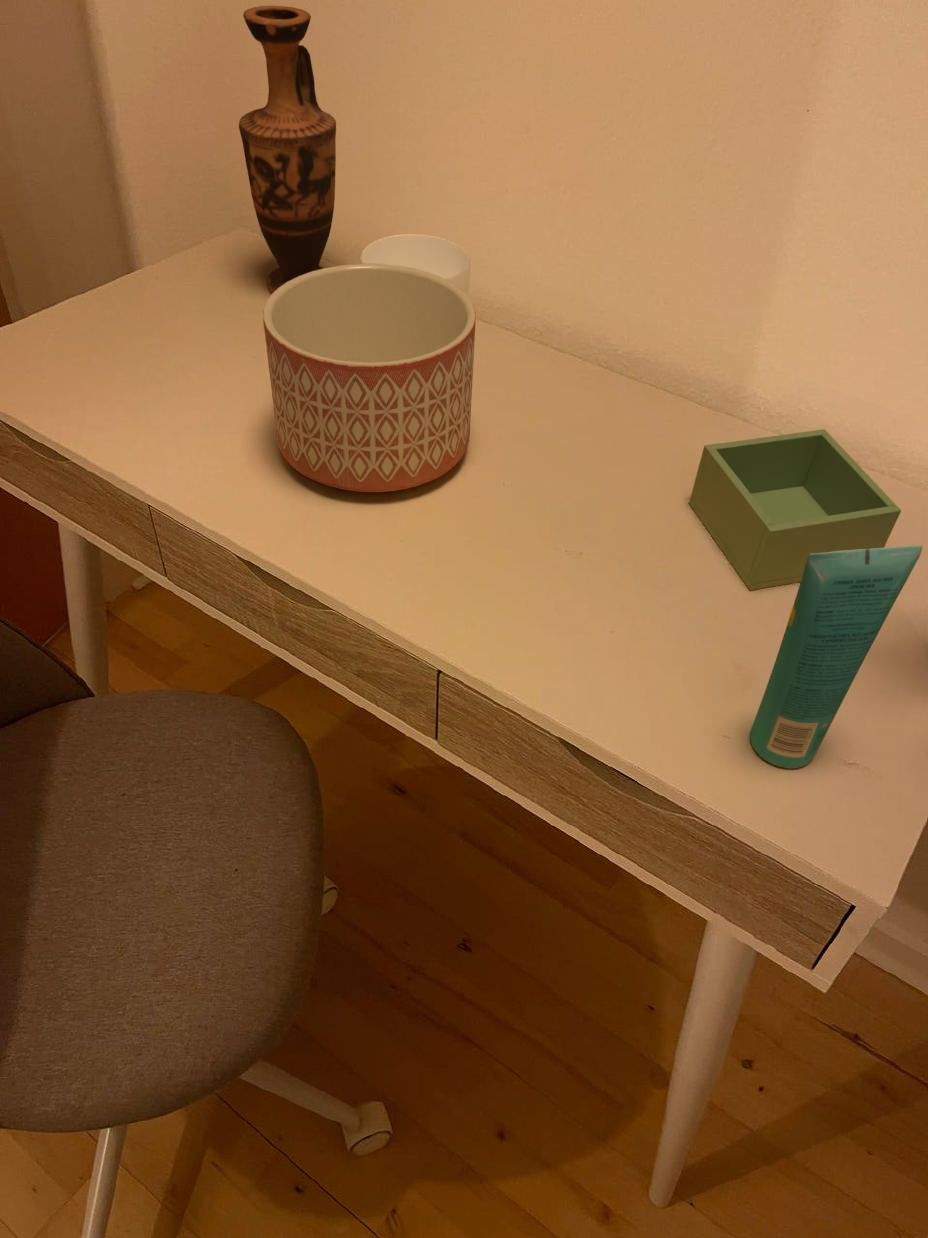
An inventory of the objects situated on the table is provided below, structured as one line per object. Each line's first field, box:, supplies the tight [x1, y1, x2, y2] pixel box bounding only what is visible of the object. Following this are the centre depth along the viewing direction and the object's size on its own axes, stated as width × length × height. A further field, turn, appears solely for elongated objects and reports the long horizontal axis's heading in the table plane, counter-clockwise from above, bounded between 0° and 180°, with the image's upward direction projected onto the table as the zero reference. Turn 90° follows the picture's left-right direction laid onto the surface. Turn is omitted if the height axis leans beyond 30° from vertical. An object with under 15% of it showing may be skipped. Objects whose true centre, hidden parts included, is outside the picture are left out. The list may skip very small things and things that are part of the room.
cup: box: [359, 233, 471, 298], centre depth 104 cm, size 12×12×12 cm
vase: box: [238, 5, 337, 294], centre depth 109 cm, size 11×11×30 cm
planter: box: [262, 263, 477, 493], centre depth 90 cm, size 19×19×15 cm
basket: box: [688, 428, 902, 591], centre depth 86 cm, size 13×13×7 cm
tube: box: [749, 544, 923, 769], centre depth 64 cm, size 7×5×19 cm, turn 104°
